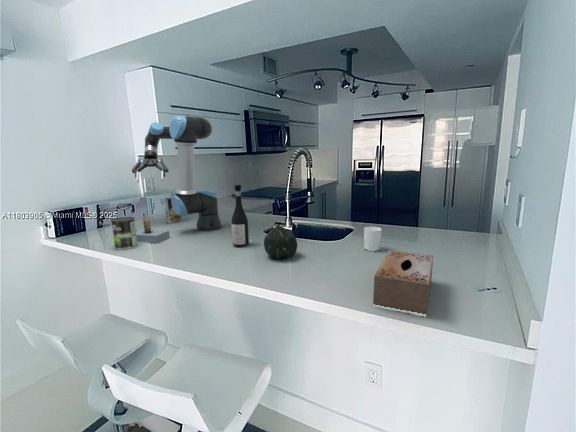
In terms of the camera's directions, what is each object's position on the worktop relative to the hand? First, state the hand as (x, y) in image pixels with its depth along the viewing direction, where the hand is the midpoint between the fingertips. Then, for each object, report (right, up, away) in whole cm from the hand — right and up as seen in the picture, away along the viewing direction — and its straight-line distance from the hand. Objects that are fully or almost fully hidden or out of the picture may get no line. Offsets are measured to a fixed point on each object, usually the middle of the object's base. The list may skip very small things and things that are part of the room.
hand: (150, 180), depth 181 cm
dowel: (+6, -33, -15) cm, 37 cm away
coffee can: (0, -36, -27) cm, 45 cm away
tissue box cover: (+119, -46, -82) cm, 152 cm away
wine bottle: (+58, -35, -28) cm, 73 cm away
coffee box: (+5, -25, +27) cm, 37 cm away
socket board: (+6, -33, -15) cm, 37 cm away
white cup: (+120, -36, -38) cm, 131 cm away
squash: (+78, -39, -45) cm, 98 cm away
